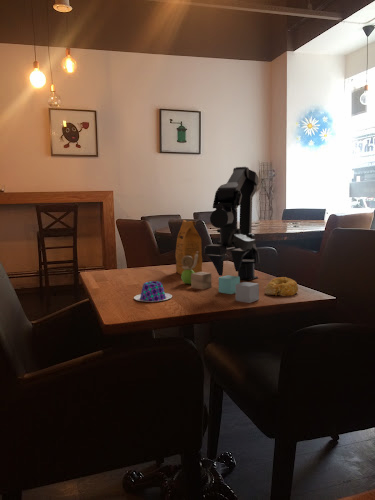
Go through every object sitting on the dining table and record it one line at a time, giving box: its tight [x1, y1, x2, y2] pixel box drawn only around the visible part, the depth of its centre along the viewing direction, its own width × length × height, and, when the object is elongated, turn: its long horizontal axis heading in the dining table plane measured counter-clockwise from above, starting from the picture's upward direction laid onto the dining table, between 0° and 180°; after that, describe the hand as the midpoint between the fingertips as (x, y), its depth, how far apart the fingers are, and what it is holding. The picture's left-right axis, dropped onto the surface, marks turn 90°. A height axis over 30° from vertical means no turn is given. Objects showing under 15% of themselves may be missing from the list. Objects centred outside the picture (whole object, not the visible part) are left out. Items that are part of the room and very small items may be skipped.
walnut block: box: [190, 271, 213, 290], centre depth 144 cm, size 5×5×5 cm
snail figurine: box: [180, 251, 198, 285], centre depth 150 cm, size 5×6×12 cm
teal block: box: [218, 274, 241, 295], centre depth 136 cm, size 5×5×5 cm
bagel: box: [264, 276, 299, 297], centre depth 133 cm, size 10×11×5 cm
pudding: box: [133, 280, 173, 303], centre depth 130 cm, size 12×12×5 cm
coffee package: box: [175, 219, 203, 276], centre depth 171 cm, size 10×12×22 cm
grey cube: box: [235, 281, 260, 304], centre depth 125 cm, size 5×5×5 cm
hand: (229, 273), depth 136 cm, fingers open, 9 cm apart
